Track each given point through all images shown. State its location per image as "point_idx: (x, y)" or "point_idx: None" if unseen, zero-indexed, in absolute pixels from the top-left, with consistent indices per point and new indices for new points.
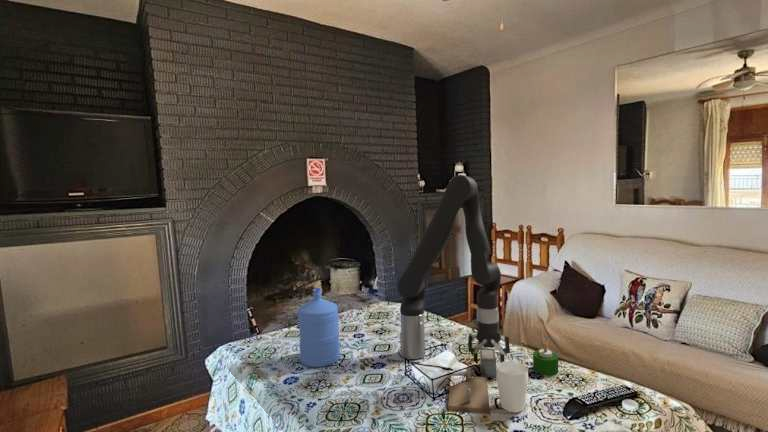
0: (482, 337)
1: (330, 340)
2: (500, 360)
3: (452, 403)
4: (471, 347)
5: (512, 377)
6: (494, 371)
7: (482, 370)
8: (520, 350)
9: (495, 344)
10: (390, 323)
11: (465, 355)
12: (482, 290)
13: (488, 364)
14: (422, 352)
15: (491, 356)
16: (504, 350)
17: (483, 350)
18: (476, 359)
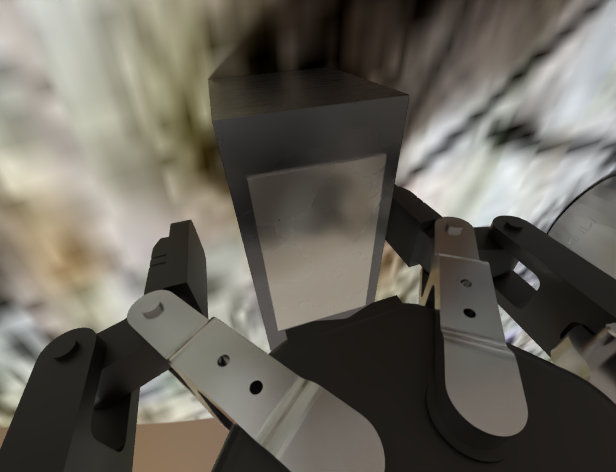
0: (548, 449)
1: None
2: (192, 246)
3: None
4: (528, 249)
5: None
6: (227, 86)
7: (342, 74)
8: (148, 409)
9: (263, 393)
10: (540, 351)
11: (388, 288)
12: None
13: (305, 97)
14: (600, 218)
15: (284, 230)
16: (130, 350)
17: (351, 303)
18: (399, 193)
